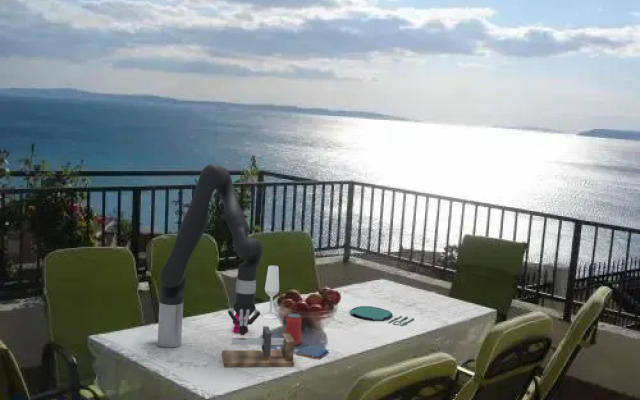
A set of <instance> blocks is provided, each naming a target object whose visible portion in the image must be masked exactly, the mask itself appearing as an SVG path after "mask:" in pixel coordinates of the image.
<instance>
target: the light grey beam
mask: <svg viewBox="0 0 640 400" xmlns="http://www.w3.org/2000/svg"><path fill="white" fill-rule="evenodd" d="M264 343H265V338H263V337H232V338H231V345H233V346H239V345H240V346H248V345H249V346H250V345H251V346H259V345H260V346H262V345H264ZM273 345H274V346H276V345H280V346H282V345H285V339H284V338H282V337H271V346H273Z"/></svg>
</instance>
